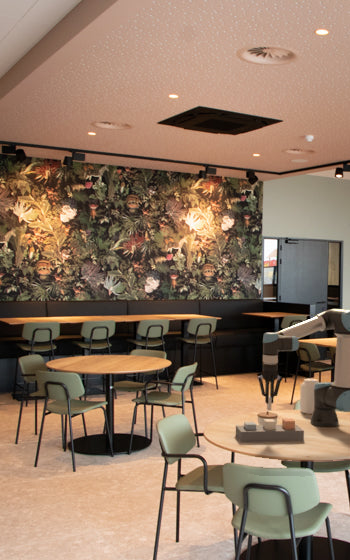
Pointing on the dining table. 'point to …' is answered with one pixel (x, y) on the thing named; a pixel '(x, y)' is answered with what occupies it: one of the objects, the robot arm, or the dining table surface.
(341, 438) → the dining table surface
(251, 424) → the grey cube
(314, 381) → the can
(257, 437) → the console
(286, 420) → the key terracotta
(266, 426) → the key ivory
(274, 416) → the lidded jar
